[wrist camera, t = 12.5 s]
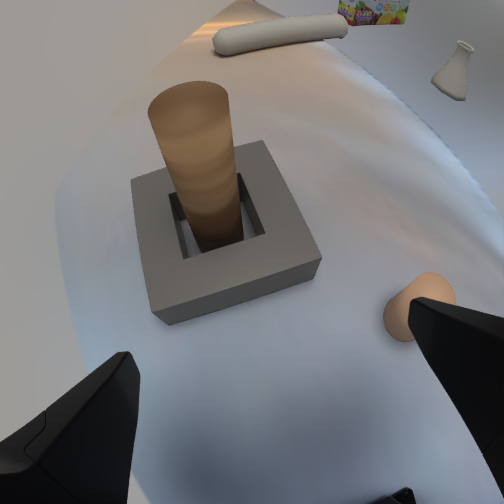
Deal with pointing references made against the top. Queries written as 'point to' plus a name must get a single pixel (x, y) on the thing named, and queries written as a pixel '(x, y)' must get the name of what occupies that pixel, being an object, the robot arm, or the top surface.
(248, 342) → the top surface
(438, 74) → the flask
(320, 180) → the top surface
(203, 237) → the tall pin
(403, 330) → the short pin
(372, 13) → the snack box
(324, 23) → the tube
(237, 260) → the grey square socket block
